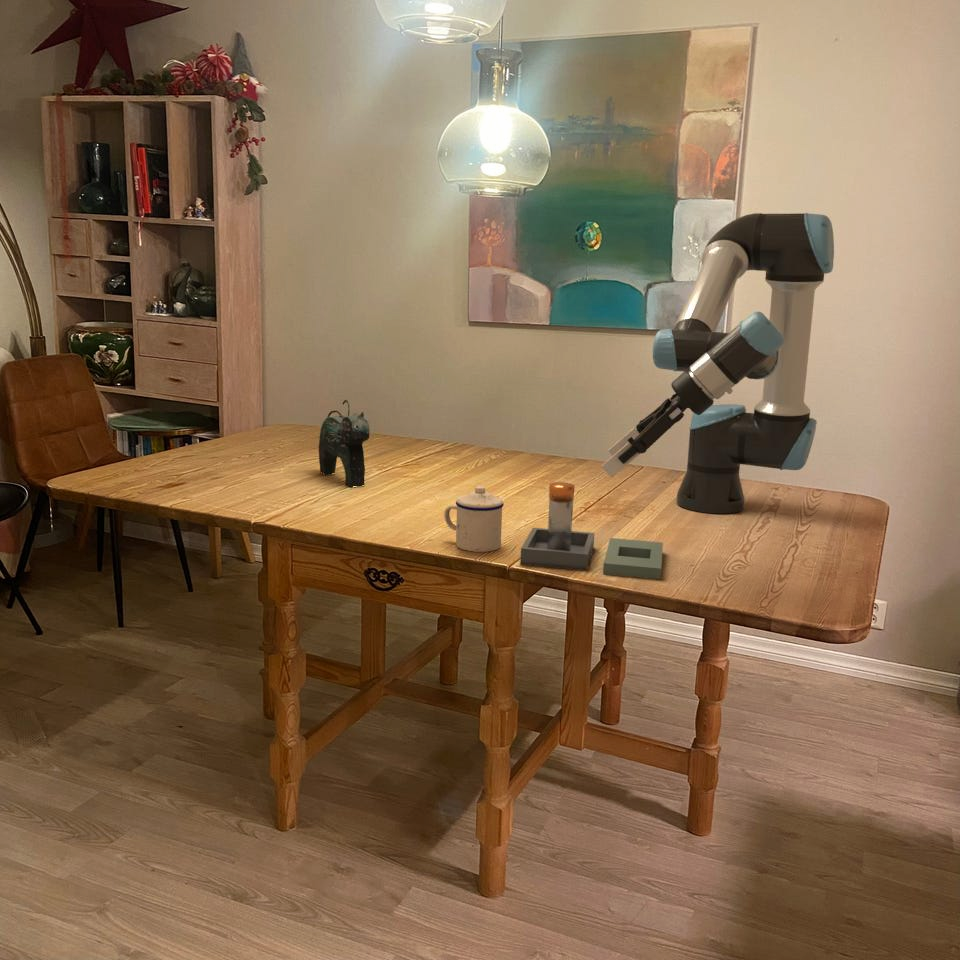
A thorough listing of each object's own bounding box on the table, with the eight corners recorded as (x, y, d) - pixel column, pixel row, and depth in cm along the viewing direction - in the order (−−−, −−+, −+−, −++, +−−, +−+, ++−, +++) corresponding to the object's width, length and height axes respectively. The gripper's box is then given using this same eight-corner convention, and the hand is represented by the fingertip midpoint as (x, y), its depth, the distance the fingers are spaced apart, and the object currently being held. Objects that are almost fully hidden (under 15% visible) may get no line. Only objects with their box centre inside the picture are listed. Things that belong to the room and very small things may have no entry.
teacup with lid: (509, 543, 181) (512, 485, 178) (488, 556, 173) (490, 495, 170) (455, 534, 186) (457, 477, 183) (432, 545, 178) (434, 486, 175)
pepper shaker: (547, 548, 177) (551, 481, 174) (572, 550, 176) (575, 483, 173) (544, 555, 172) (547, 487, 169) (569, 557, 171) (573, 489, 168)
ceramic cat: (372, 487, 221) (372, 404, 217) (347, 490, 218) (347, 405, 213) (334, 470, 237) (334, 392, 233) (311, 473, 234) (310, 394, 229)
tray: (532, 542, 182) (532, 527, 181) (593, 547, 180) (594, 532, 179) (520, 564, 169) (520, 548, 168) (586, 570, 166) (587, 554, 166)
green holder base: (609, 547, 180) (610, 537, 179) (662, 552, 178) (663, 542, 178) (602, 573, 165) (603, 563, 164) (660, 579, 163) (661, 568, 162)
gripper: (717, 413, 150) (618, 495, 156) (714, 391, 173) (628, 464, 180) (686, 378, 150) (588, 462, 156) (687, 361, 173) (602, 435, 180)
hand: (609, 463), depth 168 cm, fingers open, 13 cm apart
